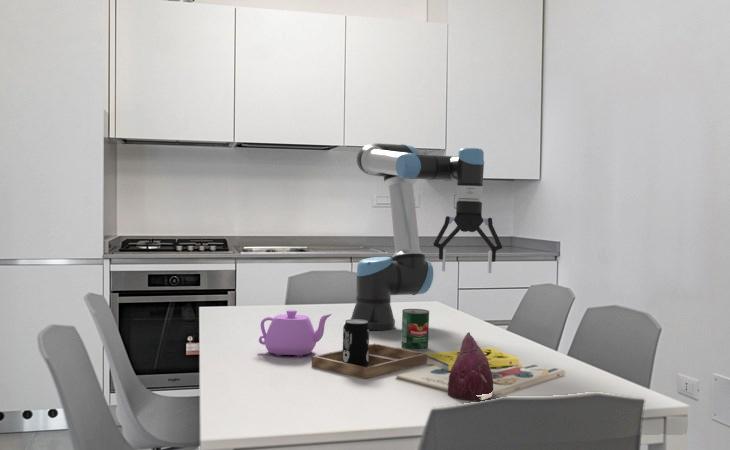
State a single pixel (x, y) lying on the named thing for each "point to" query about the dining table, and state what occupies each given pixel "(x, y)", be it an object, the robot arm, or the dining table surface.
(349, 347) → the beverage can
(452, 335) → the dining table surface
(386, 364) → the tray
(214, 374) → the dining table surface
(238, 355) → the dining table surface
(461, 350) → the vegetable
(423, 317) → the canned tomato
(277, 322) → the teapot
